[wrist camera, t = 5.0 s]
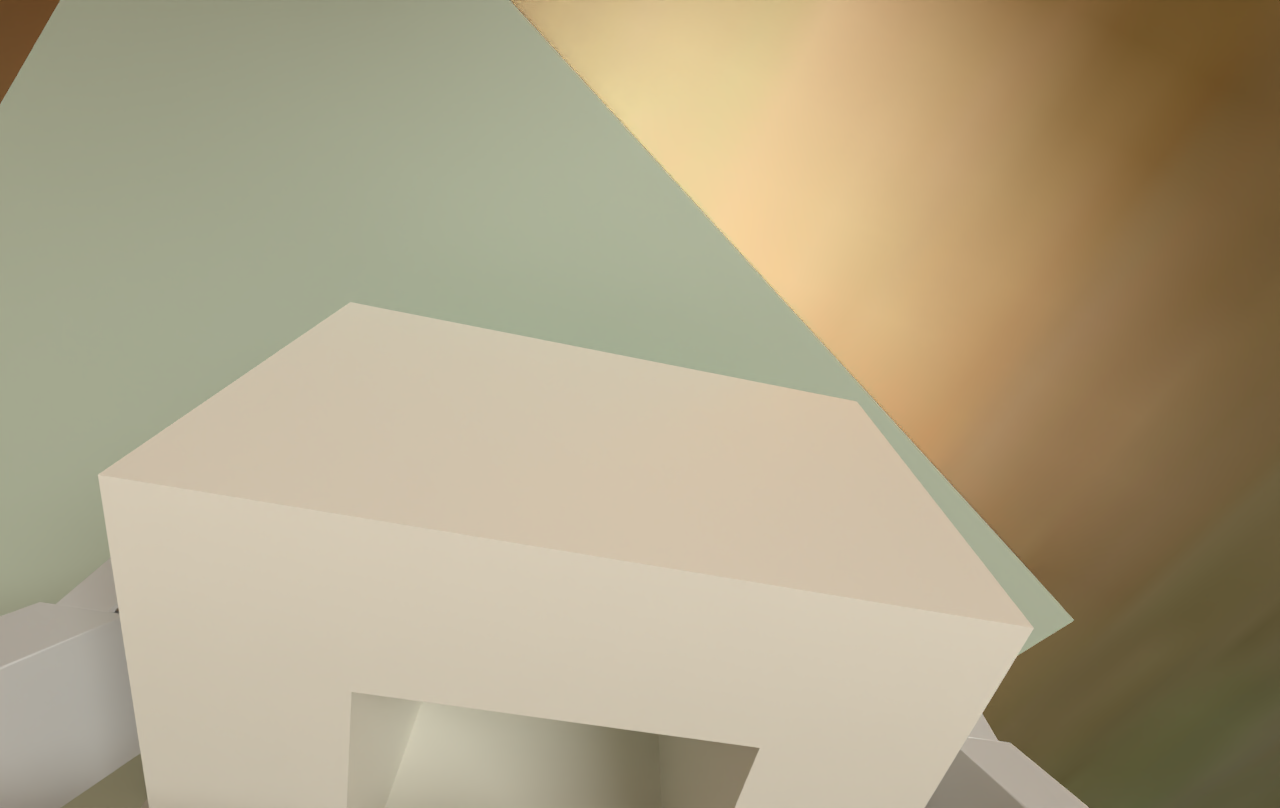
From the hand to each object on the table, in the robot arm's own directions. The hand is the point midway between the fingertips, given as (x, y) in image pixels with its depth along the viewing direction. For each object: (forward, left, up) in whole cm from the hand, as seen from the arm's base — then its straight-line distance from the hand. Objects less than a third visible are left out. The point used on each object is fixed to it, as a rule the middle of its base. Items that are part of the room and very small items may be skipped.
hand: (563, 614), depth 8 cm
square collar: (0, 0, -1) cm, 1 cm away
